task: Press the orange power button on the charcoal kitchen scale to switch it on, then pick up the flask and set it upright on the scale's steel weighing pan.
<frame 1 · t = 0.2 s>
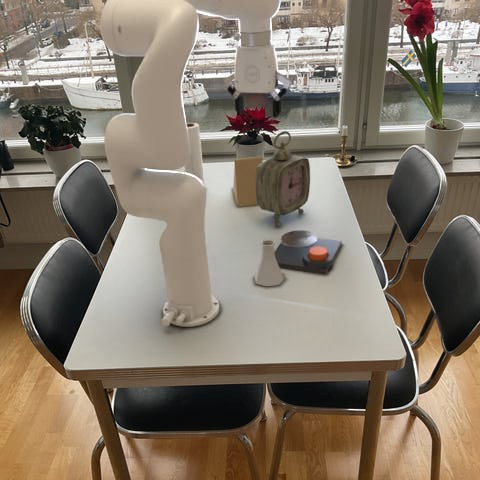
hand: (258, 115, 135), 31 cm above the table, tool pointing down, fingers open, 9 cm apart
tabletop clock: (282, 219, 157), on the table
paper towel roll: (195, 191, 179), on the table
weighing pan: (299, 250, 140), resting on scale
scale: (305, 255, 138), on the table
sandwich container: (247, 197, 172), on the table
flask: (269, 280, 129), on the table
scale button: (318, 253, 131), point 4 cm above the table, slide at 0.1 cm
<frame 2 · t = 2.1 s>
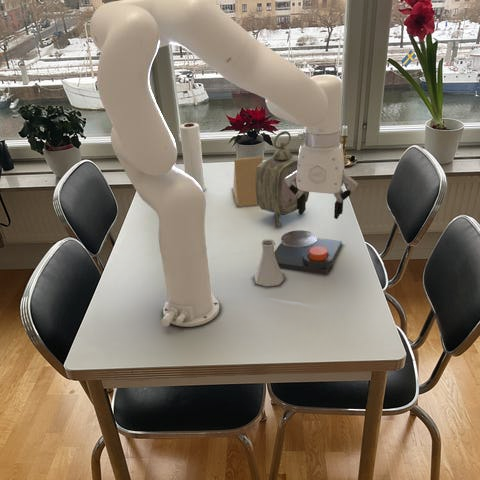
hand: (319, 214, 125), 14 cm above the table, tool pointing down, fingers open, 7 cm apart
nothing on the table moved.
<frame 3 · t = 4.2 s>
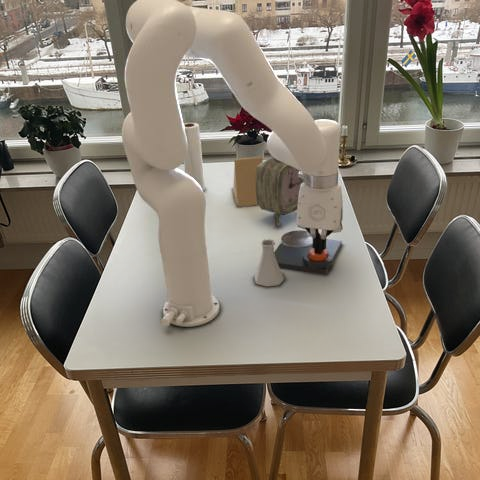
hand: (319, 251, 131), 4 cm above the table, tool pointing down, fingers closed
scale button: (318, 254, 131), point 3 cm above the table, slide at -0.1 cm, touching gripper
everything else where it was.
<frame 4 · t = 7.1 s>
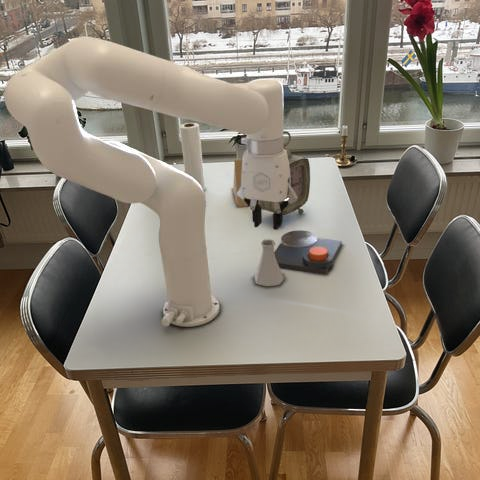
hand: (267, 225, 121), 14 cm above the table, tool pointing down, fingers open, 3 cm apart
scale button: (318, 253, 131), point 4 cm above the table, slide at 0.1 cm
everything else where it was.
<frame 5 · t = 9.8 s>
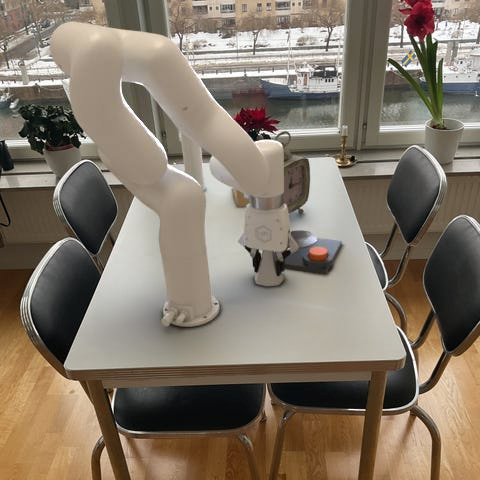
hand: (268, 270, 128), 2 cm above the table, tool pointing down, fingers closed on flask, 4 cm apart
flask: (269, 280, 129), on the table, touching gripper
everything else where it was.
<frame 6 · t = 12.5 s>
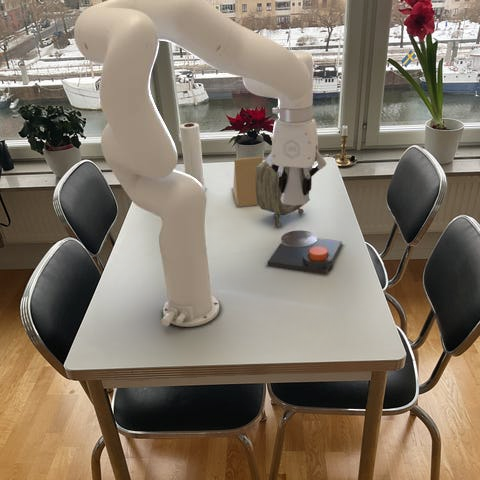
hand: (295, 191, 129), 17 cm above the table, tool pointing down, fingers closed on flask, 4 cm apart
flask: (295, 201, 130), point 15 cm above the table, touching gripper
everything else where it was.
when the fingers open (6 cm above the table, at t = 15.6 s): flask stays where it is, resting on weighing pan.
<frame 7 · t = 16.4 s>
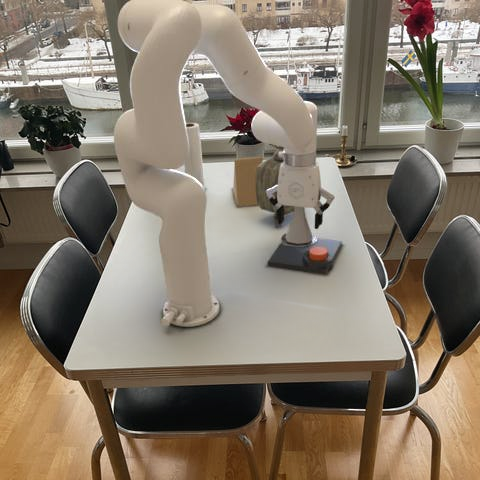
hand: (299, 224, 136), 7 cm above the table, tool pointing down, fingers open, 9 cm apart
flask: (299, 239, 139), point 3 cm above the table, touching weighing pan
everything else where it was.
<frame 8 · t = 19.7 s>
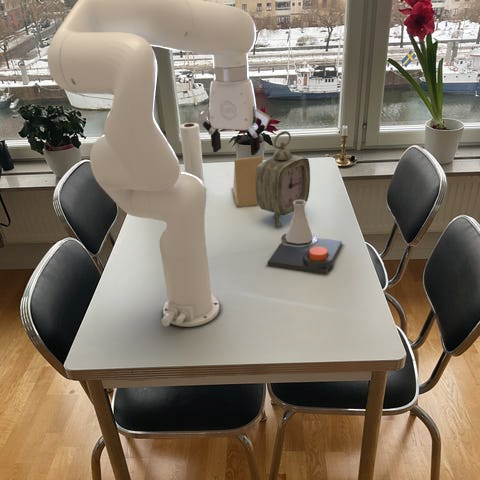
hand: (235, 151, 127), 26 cm above the table, tool pointing down, fingers open, 9 cm apart
nothing on the table moved.
at the end: scale button pushed in 0.9 cm at the most during the clip, back to where it started at the end; scale button slide at 0.1 cm; flask inside the target area on the scale (0.4 cm from its centre), point 3.2 cm above the scale's base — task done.
